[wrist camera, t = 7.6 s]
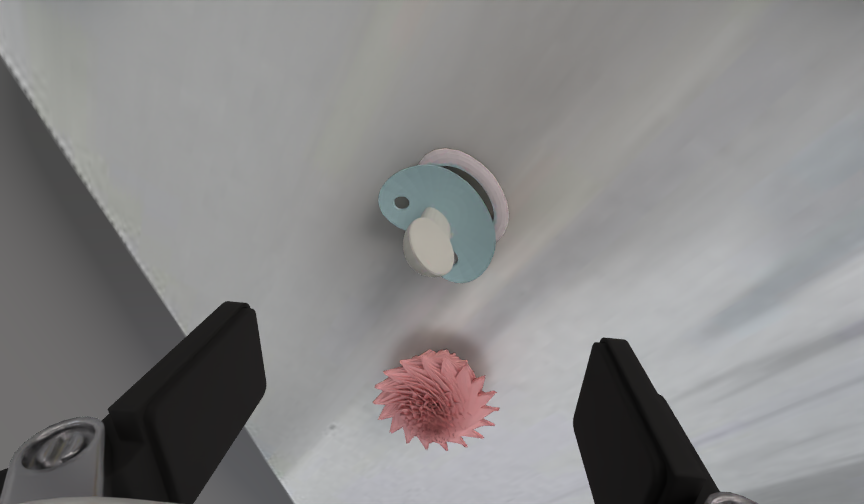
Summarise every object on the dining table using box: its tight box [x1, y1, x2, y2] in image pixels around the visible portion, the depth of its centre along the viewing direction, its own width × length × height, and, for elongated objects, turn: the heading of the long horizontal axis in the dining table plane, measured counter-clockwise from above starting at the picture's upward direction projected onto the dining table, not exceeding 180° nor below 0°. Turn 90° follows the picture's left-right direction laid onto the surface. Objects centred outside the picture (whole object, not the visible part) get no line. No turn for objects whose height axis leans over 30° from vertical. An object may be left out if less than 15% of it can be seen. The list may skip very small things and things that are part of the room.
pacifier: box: [378, 148, 509, 283], centre depth 21 cm, size 7×6×6 cm
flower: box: [373, 349, 500, 451], centre depth 26 cm, size 8×8×6 cm
